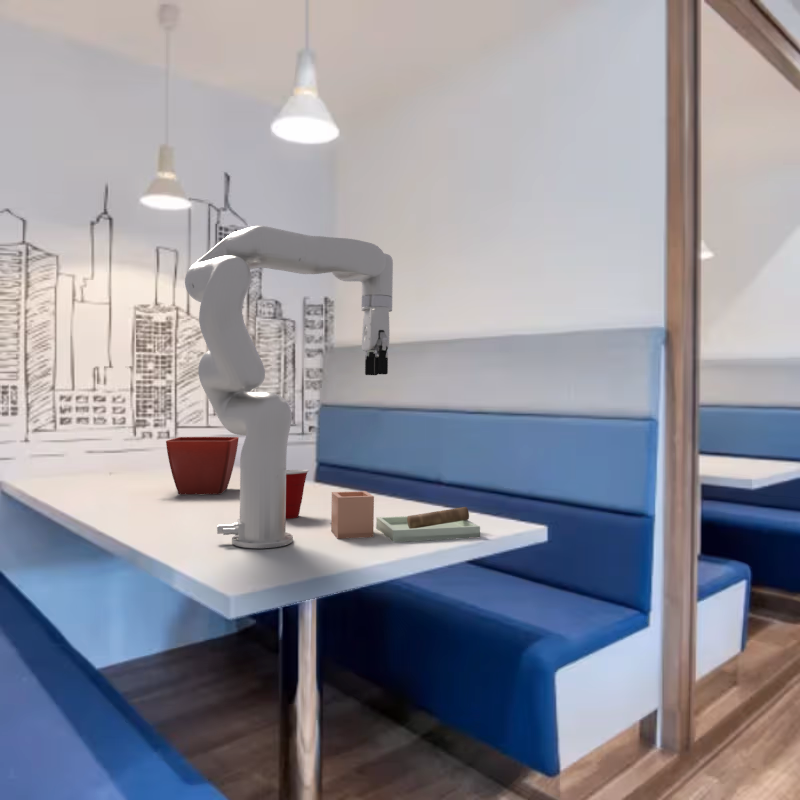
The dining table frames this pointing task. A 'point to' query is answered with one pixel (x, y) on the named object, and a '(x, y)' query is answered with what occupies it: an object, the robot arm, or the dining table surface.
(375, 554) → the dining table surface
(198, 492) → the plant pot
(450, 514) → the dowel
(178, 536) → the dining table surface
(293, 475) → the plastic cup
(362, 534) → the pink square bin
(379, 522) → the tray
